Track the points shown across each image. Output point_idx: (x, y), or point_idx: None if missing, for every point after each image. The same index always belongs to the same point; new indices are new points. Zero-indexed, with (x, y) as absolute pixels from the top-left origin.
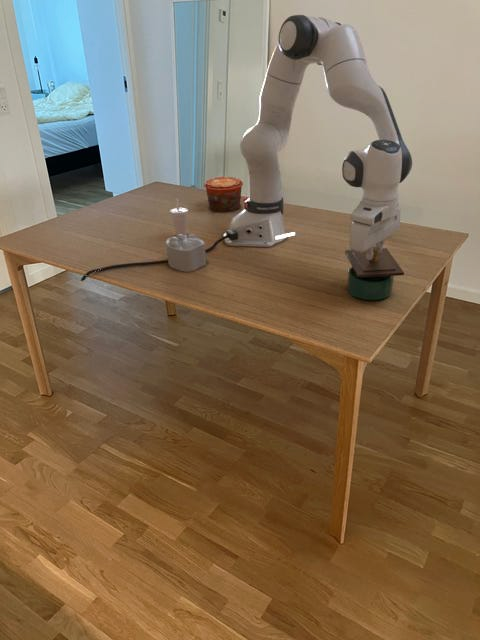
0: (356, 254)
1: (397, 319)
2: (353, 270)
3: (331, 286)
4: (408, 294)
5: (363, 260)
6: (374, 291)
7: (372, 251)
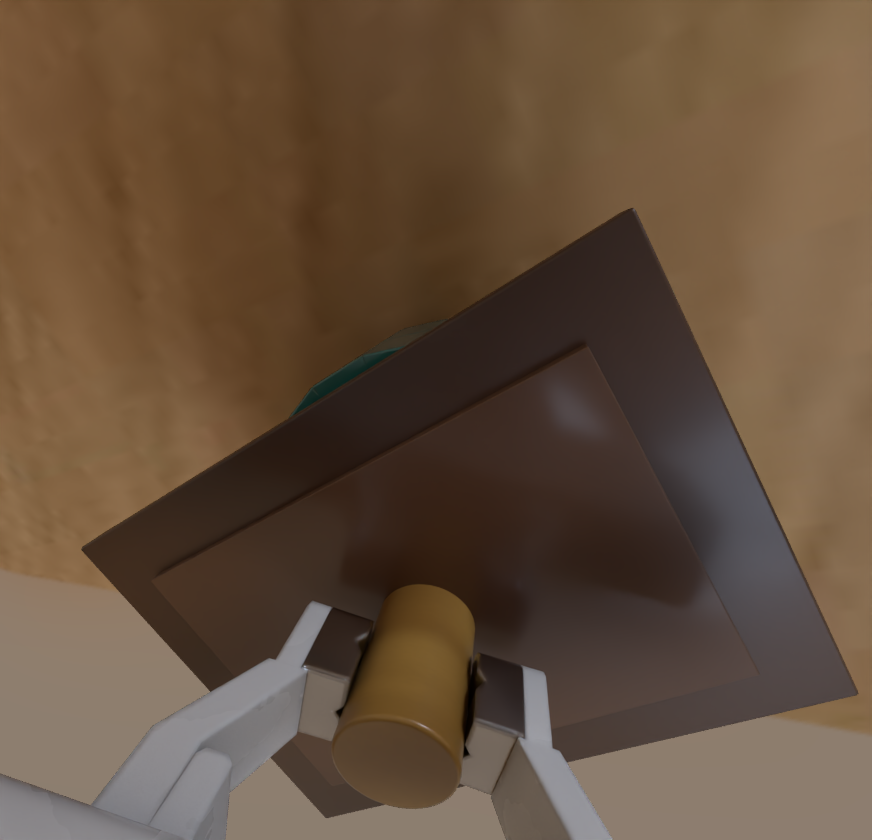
0: (494, 429)
1: None
2: None
3: (419, 196)
4: None
5: (360, 541)
6: None
7: (241, 770)
